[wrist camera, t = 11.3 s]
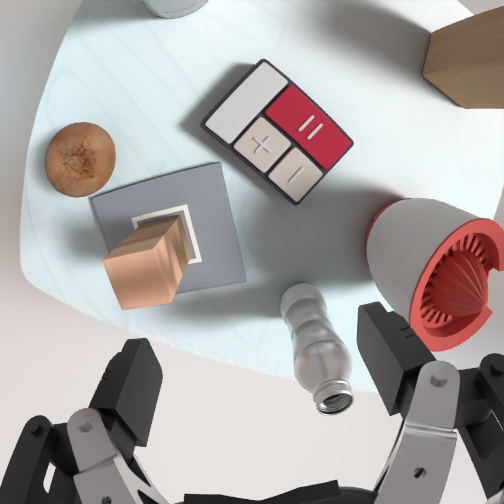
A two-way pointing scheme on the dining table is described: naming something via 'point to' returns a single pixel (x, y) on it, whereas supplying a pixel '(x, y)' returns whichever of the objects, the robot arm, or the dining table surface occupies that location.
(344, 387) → the plastic bottle
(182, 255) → the walnut block
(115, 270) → the terracotta block
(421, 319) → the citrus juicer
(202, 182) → the grey flat plate
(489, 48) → the wooden block
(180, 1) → the robot arm
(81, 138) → the onion
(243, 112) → the calculator
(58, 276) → the dining table surface
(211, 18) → the dining table surface
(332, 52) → the dining table surface
